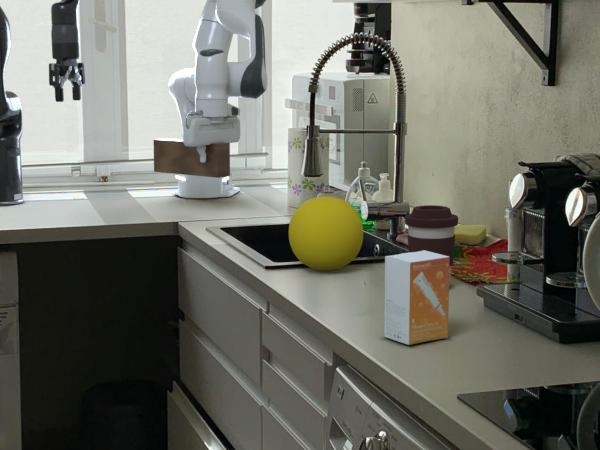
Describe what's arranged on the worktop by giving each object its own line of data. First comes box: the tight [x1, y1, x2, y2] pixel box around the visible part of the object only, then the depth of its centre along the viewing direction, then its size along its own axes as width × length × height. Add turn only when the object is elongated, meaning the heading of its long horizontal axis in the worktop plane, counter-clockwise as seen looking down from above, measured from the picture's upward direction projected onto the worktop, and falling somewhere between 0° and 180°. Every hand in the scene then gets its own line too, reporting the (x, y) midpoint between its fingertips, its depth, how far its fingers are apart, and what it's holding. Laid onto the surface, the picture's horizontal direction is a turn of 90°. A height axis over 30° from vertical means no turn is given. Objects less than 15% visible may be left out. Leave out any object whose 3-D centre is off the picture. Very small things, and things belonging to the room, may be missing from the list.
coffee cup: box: [404, 204, 459, 286], centre depth 197 cm, size 10×10×15 cm
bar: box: [153, 138, 231, 178], centre depth 288 cm, size 23×5×9 cm, turn 55°
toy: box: [288, 195, 364, 271], centre depth 213 cm, size 15×15×15 cm
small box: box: [383, 250, 450, 346], centre depth 162 cm, size 8×6×13 cm
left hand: (68, 101), depth 289 cm, fingers open, 8 cm apart
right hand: (212, 161), depth 284 cm, fingers closed on bar, 5 cm apart
